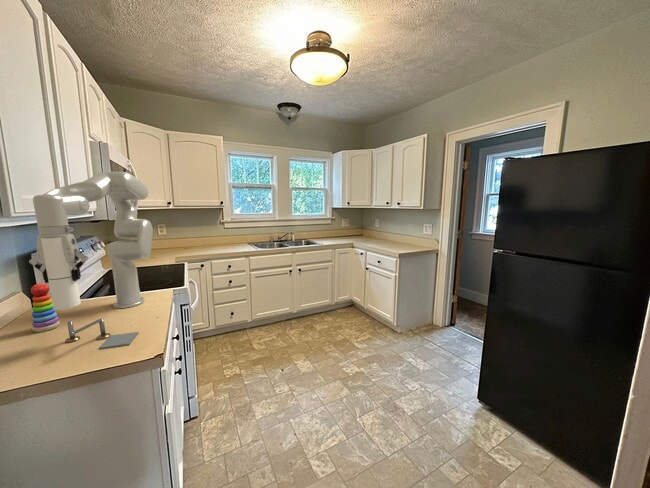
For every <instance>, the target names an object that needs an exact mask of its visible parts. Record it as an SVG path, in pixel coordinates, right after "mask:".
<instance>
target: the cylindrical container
mask: <svg viewBox="0 0 650 488" xmlns="http://www.w3.org/2000/svg"><path fill="white" fill-rule="evenodd" d="M41 242H42V247H43V253H44V258H45V265H46V270H47V276H48V281H49V283H48V286H49V291H50V296H51V297H50V298H51V299H52V303H53V308H54V309H55V311H56V310H57V311H58V310H67V309H71V308H74V307H77V306H79V305H81V303H82V302H81V297H80V291H79V285H78V280H76V281H73V279H72V273H71V270H73V268H72V267H71V266H70V264H69V263H67V262H66V259H65V256H64V252H63V247H62V240H61V237H58V238H41Z"/></svg>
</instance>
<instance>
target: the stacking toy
mask: <svg viewBox="0 0 650 488" xmlns="http://www.w3.org/2000/svg"><path fill="white" fill-rule="evenodd" d="M49 291H50V286H49V284H48V285H47V283H42V282H41V283H36V284H34V285H33V286H31V288H30V293H31V294H32V296H33V297H32V301H33V302H32V306H33V307H31V308H32V309H31V310H32V312H31V316H32V317H31V321H32V323H31V324H32V325H31V326H32V328H31V330H32V332H35V333H41V332H47V331H51V330H53V329H56V328H57V327H58V326H60V324H61V321H60V320H59V319H60V318H59V316H57V315H58V314H57V312H56V309H54V308H53V303H52V297H51V294H50V293H49Z"/></svg>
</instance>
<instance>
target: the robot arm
mask: <svg viewBox="0 0 650 488" xmlns="http://www.w3.org/2000/svg"><path fill="white" fill-rule="evenodd" d="M106 196H108V197H109V199H111V201H112V203H113V205H114V207H115V219H114V228H113V232H114V233H113V234H114V236H115V237H116V238H118V239H125V240H115V241H112V242H110V243H109V244H107V246H106V254H107V256H108V259H109V262H110V265H111V269H112V276H113V277H112V278H113V283H114V291H115V296H116V297H115V298H116V301H114V303H113V304H112V305H113V308H115V309H127V308H133V307H135V306H139V305H141V304H143V303H144V302H145V298H144V297H142V296H141V290H140V284H139V283H140V282H139V277H138V276H139V275H138V268H137V266H136V264H135V262H134V261H139V260H140V261H141V260H146V259H148V258H149V257H150V255H151V252H152V243H153V233H154V230H153V229H154V228H153V226H152V223H151V221H150V220H147V219H145V218H138V210H137V207H135V205H134V204H133V203H132V202H131V201H142V200H145V199H147V197H148V196H149V190H148V187H147V185H146V184H145V183H144V182H143V181H141V180H140V179H138V178H137V177H136V176H134V175H133V174H131V173H129V172H126V171H102V172H101V171H100V172H99V173H97V174H94V175H93V176H91V177H90V178H87V179H85V180H84V181H80V182H74V183H72V184H68V185H64V186H60V187H59V186H58V187H56V188H53V189H51V190H49V191H47V192H45V193H43V194H37V195H34V196H33V197H32V203H33V207H34V208H33V209H34V212H35V213H34V214H35V219H36V224H37V229H38V236H36V255H35V256H33V257H32V258H30V259H29V261H28V262H29V264H31V265H32V266H34V268H35V269H36V270H39V272H40V273H42V278H43V280H44V284H49V281H48V276H47V270H46V265H45V258H44V253H43V247H42V242H41V238H58V237H61V240H62V247H63V252H64V256H65V259H66V262H67V263H69V264H70V266H71V267H72V268H73V270H71V273H72V279H73V281H76V280H77V281H78V280H80V279H81V277H82V275H81V268H82V266H83V265H85V263H86V262H87V261H88V259H89V257H88V256H87V255H85V254H83V253H82V252H80V249H79V246H78V245H79V244H78V242H77V240H76V237H75V235H74V234H73V233H71V232H74V231H75V229H74V227H71V226H70V225H69V221H68V216H80V215H84V214H86V213H87V212H88V211H89V209H90V203H92V202H95V201H96V202H97V201H100V200H101V199H103V198H105V197H106ZM126 239H127V240H126ZM128 239H129V240H128ZM131 239H133V240H131ZM135 239H136V240H135Z"/></svg>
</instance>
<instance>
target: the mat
mask: <svg viewBox="0 0 650 488" xmlns="http://www.w3.org/2000/svg"><path fill="white" fill-rule="evenodd" d="M139 333H140V332H139V331H135V332H127V333H119V334H110V335H111V336H110V337H109V338H106V340H104V342H103V343H102V344H101V345H100V346H99V347H98V350H104V349H109V348H110V349H111V348H117V347H126V346H130V345H131V344H132V342H133V341H134V340H135V339H136V338H137V336H138V335H139Z"/></svg>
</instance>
